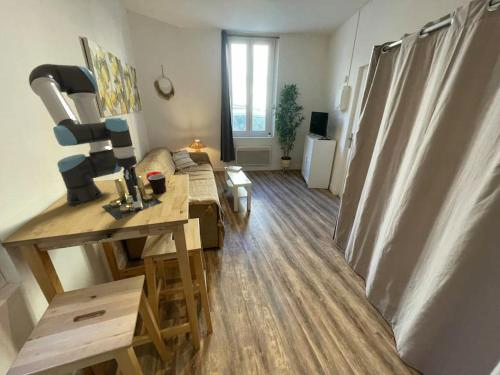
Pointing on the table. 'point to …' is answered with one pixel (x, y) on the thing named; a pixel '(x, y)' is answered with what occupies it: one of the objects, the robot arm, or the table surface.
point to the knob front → (128, 207)
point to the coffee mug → (158, 183)
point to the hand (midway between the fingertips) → (138, 205)
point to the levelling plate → (119, 215)
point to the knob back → (121, 193)
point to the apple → (152, 174)
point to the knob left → (143, 190)
